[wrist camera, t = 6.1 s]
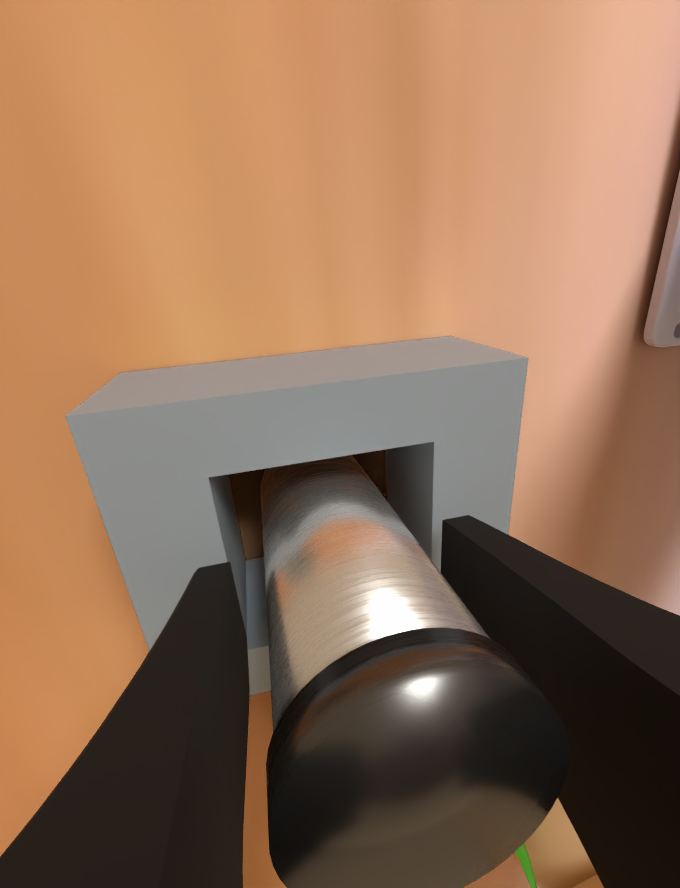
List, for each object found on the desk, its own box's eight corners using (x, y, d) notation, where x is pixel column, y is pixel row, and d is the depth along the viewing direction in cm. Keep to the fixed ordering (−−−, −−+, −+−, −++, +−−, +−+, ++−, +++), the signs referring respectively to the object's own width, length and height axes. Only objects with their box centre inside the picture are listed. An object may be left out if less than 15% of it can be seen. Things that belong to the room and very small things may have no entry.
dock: (451, 335, 12) (528, 357, 9) (442, 557, 15) (496, 633, 12) (119, 372, 10) (65, 415, 7) (189, 611, 13) (173, 715, 10)
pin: (377, 444, 12) (611, 677, 4) (353, 542, 13) (514, 890, 5) (266, 427, 12) (303, 679, 4) (249, 533, 12) (245, 936, 4)
